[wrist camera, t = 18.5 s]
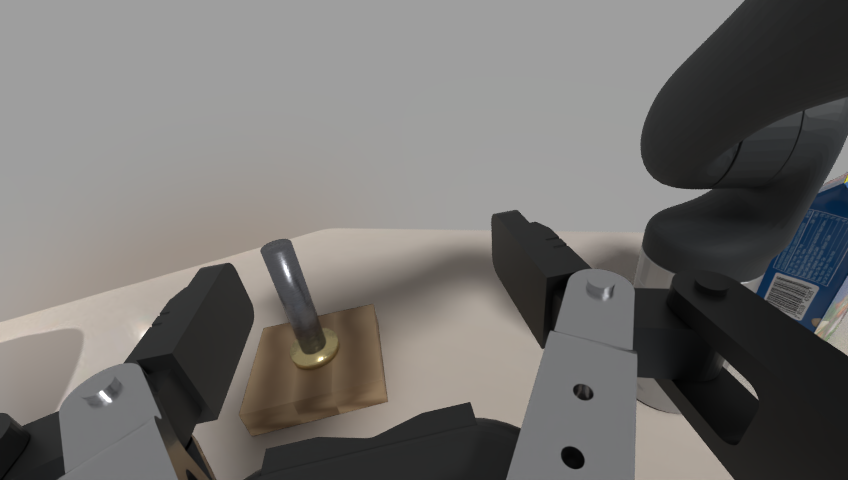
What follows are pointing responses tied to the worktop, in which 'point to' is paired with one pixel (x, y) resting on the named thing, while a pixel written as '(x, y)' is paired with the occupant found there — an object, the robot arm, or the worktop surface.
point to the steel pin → (299, 308)
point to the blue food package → (814, 265)
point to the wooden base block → (315, 375)
